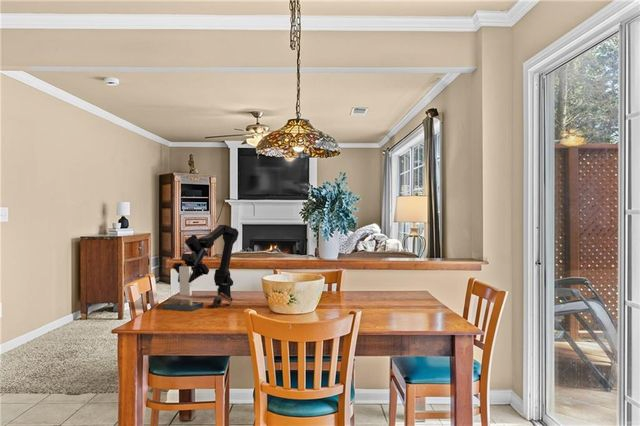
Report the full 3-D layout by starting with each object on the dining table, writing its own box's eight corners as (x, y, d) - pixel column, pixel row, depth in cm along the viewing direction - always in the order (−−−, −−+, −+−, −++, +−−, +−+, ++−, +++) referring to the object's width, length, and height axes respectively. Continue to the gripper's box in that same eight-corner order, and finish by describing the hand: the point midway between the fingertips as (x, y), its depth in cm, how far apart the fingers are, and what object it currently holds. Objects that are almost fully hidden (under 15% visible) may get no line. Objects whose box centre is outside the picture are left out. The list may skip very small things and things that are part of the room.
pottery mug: (214, 306, 240) (222, 291, 241) (229, 315, 237) (237, 300, 238) (204, 304, 228) (213, 289, 230) (220, 314, 226) (229, 299, 227)
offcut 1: (172, 307, 231) (171, 297, 231) (181, 308, 229) (181, 298, 229) (169, 308, 229) (169, 298, 229) (178, 309, 227) (178, 298, 227)
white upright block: (181, 294, 234) (181, 266, 233) (191, 295, 231) (191, 266, 231) (179, 294, 232) (179, 266, 232) (189, 295, 230) (189, 267, 230)
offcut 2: (182, 308, 229) (182, 298, 229) (192, 309, 227) (192, 298, 227) (179, 309, 227) (179, 299, 227) (189, 310, 225) (189, 299, 225)
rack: (175, 306, 238) (175, 299, 238) (204, 308, 231) (204, 302, 231) (161, 310, 228) (161, 303, 228) (191, 313, 222) (191, 306, 222)
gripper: (174, 247, 239) (160, 271, 229) (205, 247, 232) (191, 272, 222) (185, 260, 246) (171, 285, 236) (214, 261, 239) (202, 286, 229)
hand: (183, 282), depth 230 cm, fingers closed on white upright block, 6 cm apart
